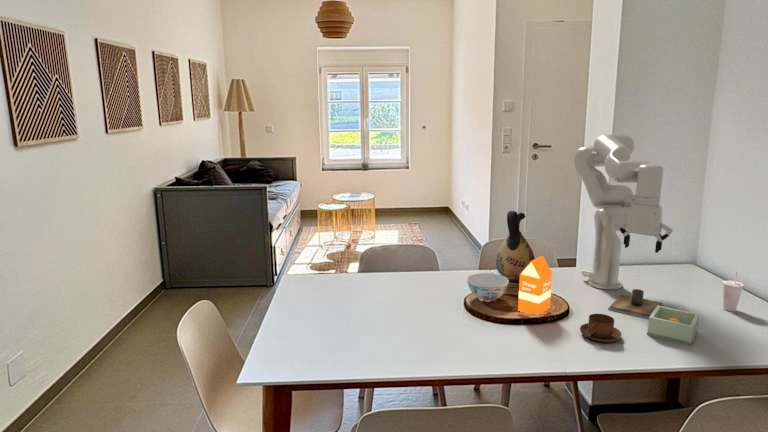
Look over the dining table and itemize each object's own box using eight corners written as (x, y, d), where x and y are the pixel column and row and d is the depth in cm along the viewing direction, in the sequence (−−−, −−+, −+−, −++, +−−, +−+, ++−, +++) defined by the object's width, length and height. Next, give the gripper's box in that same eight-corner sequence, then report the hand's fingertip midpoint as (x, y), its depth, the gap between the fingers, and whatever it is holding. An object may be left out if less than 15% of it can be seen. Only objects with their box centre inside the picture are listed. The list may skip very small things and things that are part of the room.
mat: (608, 309, 183) (608, 308, 183) (619, 297, 195) (619, 295, 194) (655, 320, 174) (655, 318, 174) (664, 306, 185) (664, 304, 185)
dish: (647, 335, 163) (649, 317, 162) (655, 322, 173) (657, 305, 171) (690, 345, 156) (693, 327, 155) (697, 331, 165) (699, 314, 164)
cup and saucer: (617, 349, 155) (619, 329, 154) (575, 339, 161) (577, 321, 160) (623, 333, 165) (625, 315, 164) (583, 325, 171) (585, 308, 170)
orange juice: (517, 314, 180) (520, 258, 176) (529, 306, 187) (532, 253, 182) (538, 320, 175) (541, 263, 171) (550, 312, 181) (553, 257, 177)
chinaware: (462, 303, 190) (463, 283, 188) (471, 290, 203) (472, 271, 202) (504, 309, 184) (505, 288, 183) (510, 294, 198) (511, 275, 196)
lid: (610, 308, 183) (611, 292, 182) (620, 296, 194) (622, 281, 193) (653, 317, 175) (655, 301, 173) (662, 304, 185) (664, 289, 184)
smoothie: (743, 313, 179) (749, 274, 176) (723, 312, 180) (728, 273, 177) (735, 306, 185) (741, 268, 182) (715, 305, 186) (720, 267, 183)
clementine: (664, 331, 164) (665, 319, 163) (666, 326, 167) (668, 315, 166) (678, 334, 161) (680, 322, 161) (681, 329, 164) (682, 318, 164)
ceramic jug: (504, 273, 223) (507, 204, 216) (539, 280, 214) (543, 208, 207) (487, 284, 209) (489, 211, 203) (524, 292, 200) (528, 216, 194)
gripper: (617, 199, 178) (612, 247, 182) (673, 206, 168) (667, 256, 172) (623, 196, 184) (618, 242, 188) (678, 202, 174) (671, 251, 178)
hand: (641, 249), depth 180 cm, fingers open, 9 cm apart
